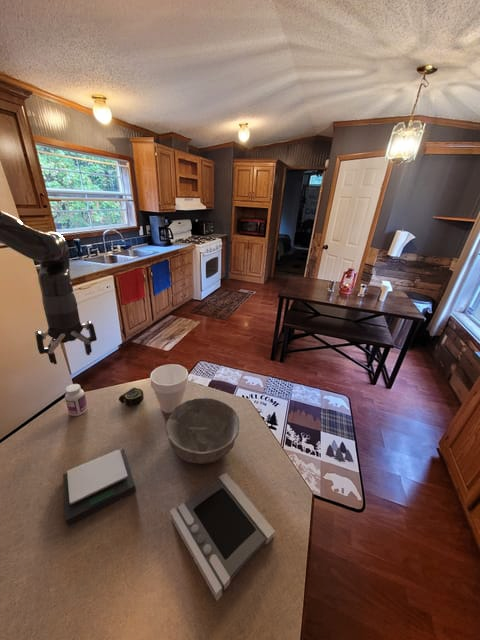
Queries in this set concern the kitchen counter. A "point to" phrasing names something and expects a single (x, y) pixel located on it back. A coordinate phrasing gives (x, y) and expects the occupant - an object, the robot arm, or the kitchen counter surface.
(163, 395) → the cup
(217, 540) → the alarm clock
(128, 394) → the tape measure
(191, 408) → the bowl
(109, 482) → the scale
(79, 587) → the kitchen counter surface
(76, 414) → the pill bottle
